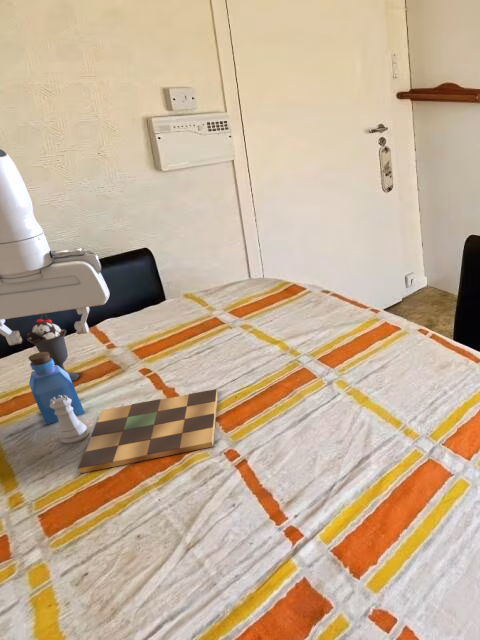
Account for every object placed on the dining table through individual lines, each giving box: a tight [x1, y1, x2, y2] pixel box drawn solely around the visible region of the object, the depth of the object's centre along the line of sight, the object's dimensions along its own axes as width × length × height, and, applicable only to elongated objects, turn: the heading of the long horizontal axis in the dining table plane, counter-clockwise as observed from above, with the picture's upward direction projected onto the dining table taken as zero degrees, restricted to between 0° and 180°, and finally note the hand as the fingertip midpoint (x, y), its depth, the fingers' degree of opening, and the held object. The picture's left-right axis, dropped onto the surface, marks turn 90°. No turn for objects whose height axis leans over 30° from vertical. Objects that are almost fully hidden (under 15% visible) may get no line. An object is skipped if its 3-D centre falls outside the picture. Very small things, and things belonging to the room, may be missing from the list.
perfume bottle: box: [28, 352, 85, 426], centre depth 116 cm, size 6×6×12 cm
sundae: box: [26, 313, 80, 382], centre depth 127 cm, size 7×7×15 cm
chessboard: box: [77, 388, 219, 474], centre depth 112 cm, size 20×20×1 cm
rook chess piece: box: [50, 395, 90, 445], centre depth 109 cm, size 4×4×8 cm
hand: (50, 337), depth 102 cm, fingers open, 8 cm apart
